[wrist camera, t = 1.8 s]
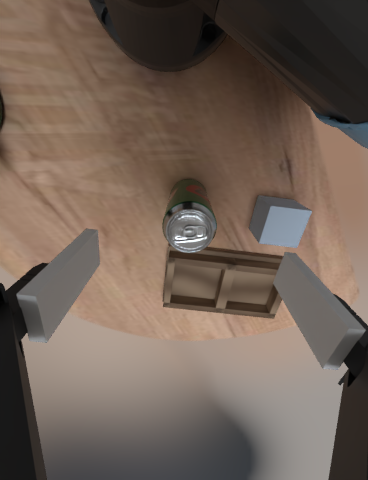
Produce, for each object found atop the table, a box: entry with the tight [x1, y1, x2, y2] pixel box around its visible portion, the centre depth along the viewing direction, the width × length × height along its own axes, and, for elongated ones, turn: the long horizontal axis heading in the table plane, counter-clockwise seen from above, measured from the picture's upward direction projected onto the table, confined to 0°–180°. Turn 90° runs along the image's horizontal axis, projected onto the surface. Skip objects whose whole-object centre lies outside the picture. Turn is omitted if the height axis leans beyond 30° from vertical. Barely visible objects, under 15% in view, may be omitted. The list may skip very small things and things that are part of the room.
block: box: [249, 195, 312, 248], centre depth 28 cm, size 5×5×5 cm
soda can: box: [162, 179, 217, 253], centre depth 24 cm, size 5×5×12 cm
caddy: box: [163, 243, 283, 319], centre depth 34 cm, size 11×19×3 cm, turn 83°
